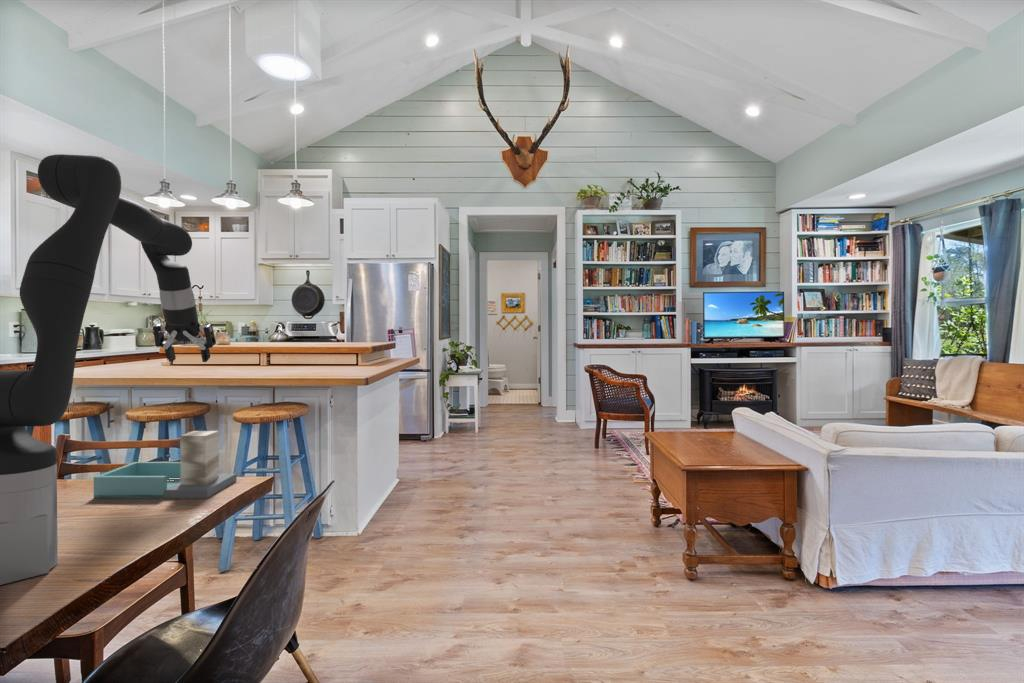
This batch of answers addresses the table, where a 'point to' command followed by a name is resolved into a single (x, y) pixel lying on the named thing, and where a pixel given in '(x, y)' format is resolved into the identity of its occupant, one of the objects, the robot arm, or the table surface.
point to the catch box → (137, 480)
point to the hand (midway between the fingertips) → (189, 360)
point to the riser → (201, 488)
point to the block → (199, 457)
